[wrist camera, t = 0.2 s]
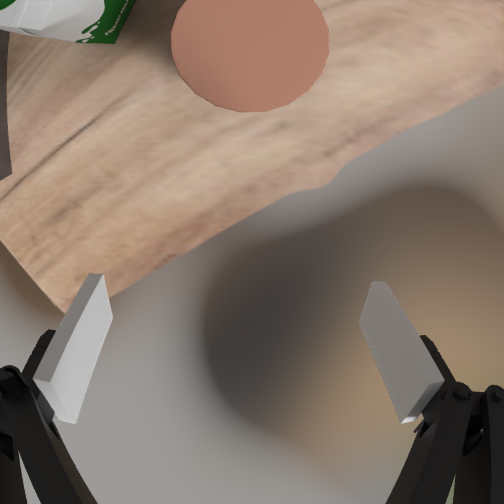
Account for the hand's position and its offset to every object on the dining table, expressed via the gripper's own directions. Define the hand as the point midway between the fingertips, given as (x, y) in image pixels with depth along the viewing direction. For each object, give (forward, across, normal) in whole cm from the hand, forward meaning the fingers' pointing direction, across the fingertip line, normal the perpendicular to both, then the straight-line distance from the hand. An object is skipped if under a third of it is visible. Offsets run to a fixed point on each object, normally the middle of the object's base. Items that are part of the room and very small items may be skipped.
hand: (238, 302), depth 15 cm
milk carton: (+28, -18, +20) cm, 39 cm away
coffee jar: (+28, 0, +13) cm, 31 cm away
